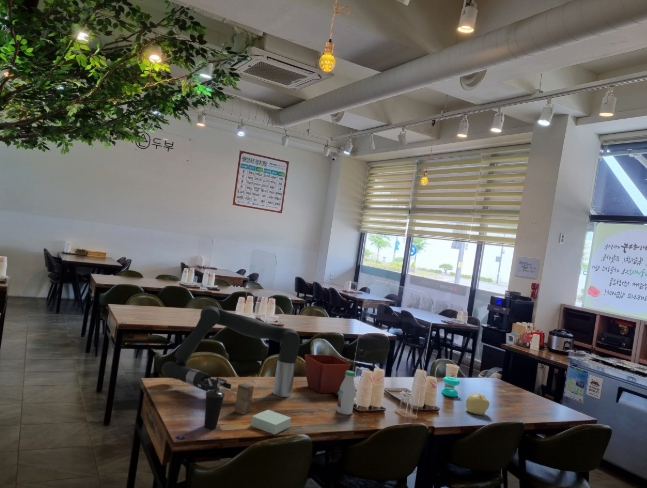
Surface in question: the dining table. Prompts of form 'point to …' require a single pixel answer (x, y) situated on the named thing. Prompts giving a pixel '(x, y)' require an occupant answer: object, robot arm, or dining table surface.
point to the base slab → (270, 421)
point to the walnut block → (244, 398)
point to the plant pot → (325, 372)
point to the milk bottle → (346, 394)
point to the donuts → (451, 382)
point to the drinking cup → (213, 407)
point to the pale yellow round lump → (477, 404)
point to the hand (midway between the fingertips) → (224, 388)
